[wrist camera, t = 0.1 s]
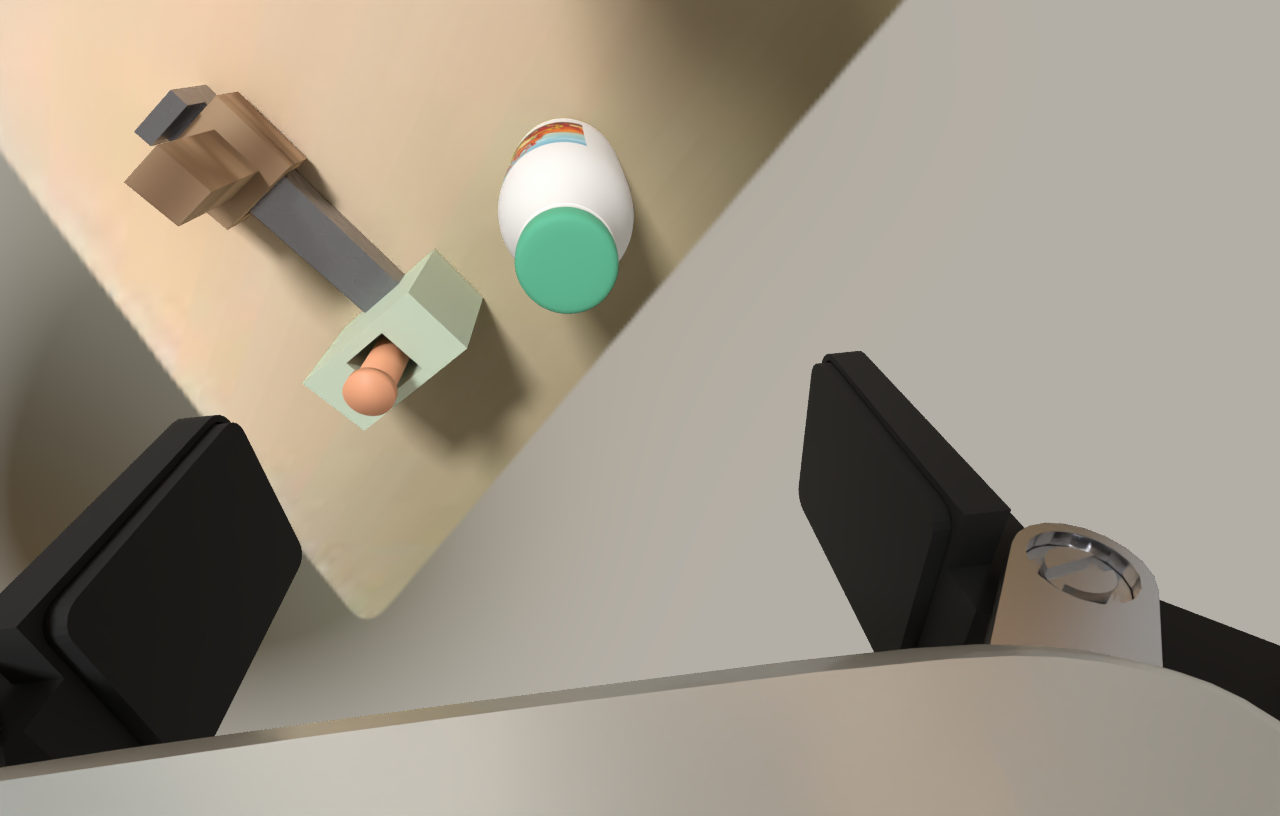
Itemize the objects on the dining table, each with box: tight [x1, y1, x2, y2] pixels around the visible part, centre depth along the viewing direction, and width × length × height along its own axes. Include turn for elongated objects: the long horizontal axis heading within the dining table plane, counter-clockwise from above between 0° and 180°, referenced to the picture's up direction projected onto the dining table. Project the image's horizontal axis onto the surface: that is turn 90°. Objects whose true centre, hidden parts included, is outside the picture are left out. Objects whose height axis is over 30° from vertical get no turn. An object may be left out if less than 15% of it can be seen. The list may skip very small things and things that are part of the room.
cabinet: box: [303, 249, 483, 431], centre depth 43 cm, size 5×10×9 cm, turn 127°
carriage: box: [124, 92, 306, 230], centre depth 36 cm, size 5×6×9 cm
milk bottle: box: [498, 118, 634, 314], centre depth 34 cm, size 8×8×20 cm
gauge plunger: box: [342, 334, 410, 416], centre depth 39 cm, size 3×3×7 cm
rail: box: [134, 85, 405, 313], centre depth 40 cm, size 16×4×4 cm, turn 37°
